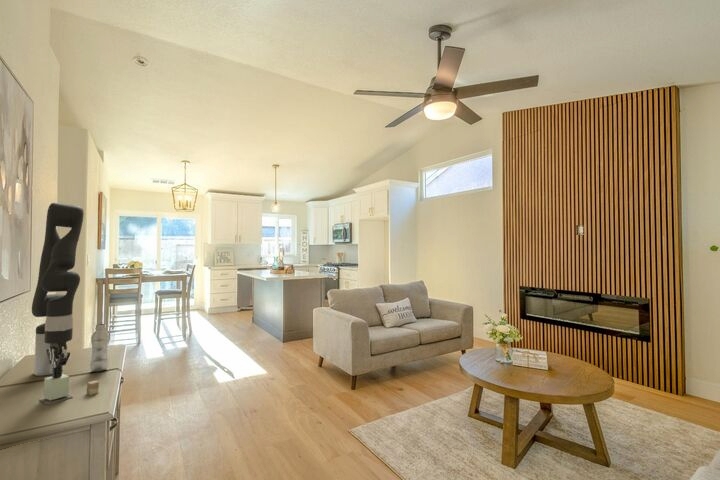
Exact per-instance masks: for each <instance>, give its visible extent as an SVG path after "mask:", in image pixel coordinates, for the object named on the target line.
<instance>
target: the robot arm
mask: <svg viewBox="0 0 720 480" xmlns="http://www.w3.org/2000/svg"><path fill="white" fill-rule="evenodd" d="M46 212H47V213H46V221H45V233H44V242H43V247H42V251H41V256H40V260H39V261H40V262H39V270H38V278H37V283H36V288H35V291H34V296H33V298H32V303H31V314H32V316H33V317H35V318H43V317H44V318H45V317H46V318H45V322H43V323H42V324H39V325H37V326H36V327H35V338H34V340H35V343H34V344H35V345H34V365H33V376H37V377H38V376H49V375H51V376H52V377H53V378H59V377H61V376H62V374H63V368H64V366H66V364H67V362H68V361H69V358H70V356H71V352H70V351H69V352H67V351H68V346H67V343H68V342H70V341H72V339H73V327H74V317H73V309H74V306H73V305H74V299H75V295H76V293H77V291H78V288H79V285H80V282H81V277H80V274H79V273H78V272H76V271H70V270H72V269H74V267H75V265H76V257H77V255H76V253H77V246H78V242H79V241H80V237H81V236H80V235H81V231H82V227H83V223H84V213H85V212H84V208H83V207H82V206H79V205H74V204H66V203H59V202H52V203H50V204H49V206H48V209H47V211H46ZM57 227H62V228H71V229H70V230H69V231H68V233H67V234H65V235H64V236H63V237H62V238H61V237H60V235H59V233H58V229H57ZM55 292H60V293H55ZM61 292H66V293H65V294H63V293H61ZM48 293H51V294H48ZM53 293H54V294H53Z"/></svg>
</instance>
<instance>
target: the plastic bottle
mask: <svg viewBox="0 0 720 480" xmlns="http://www.w3.org/2000/svg"><path fill="white" fill-rule="evenodd" d="M94 330H95V331H94V332H93V334H92V335H91V336H90V343H91V352H92V353H91V360H90V363H89V369H90V371H91V372H94V373H97V372H102V371H105V370H107V369H108V367H109V363H110V362H109V359H108V347H109V339H110V334H109V333H108V331H107V324H106V323H98V324H95V329H94Z"/></svg>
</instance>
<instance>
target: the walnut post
mask: <svg viewBox="0 0 720 480" xmlns="http://www.w3.org/2000/svg"><path fill="white" fill-rule="evenodd" d="M73 398H74V397H73V396H72V395H70V394H69V395H67V396H64V397H60V398H57V399H53V400H48V399H46V398H44V397H42V398H39V400H38V401H39V402H41V403H43V404H45V405H47V406H49V405H50V406H51V405H52V404H56V403H60V402H62V401H65V400H70V399H73Z"/></svg>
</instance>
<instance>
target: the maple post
mask: <svg viewBox="0 0 720 480" xmlns="http://www.w3.org/2000/svg"><path fill="white" fill-rule="evenodd" d="M99 384H100V382H99V381H98V380H92V381H88V382H86V394H87V395H89V396H92V395H95V394H99V389H100V388H99V387H100V385H99Z"/></svg>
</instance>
